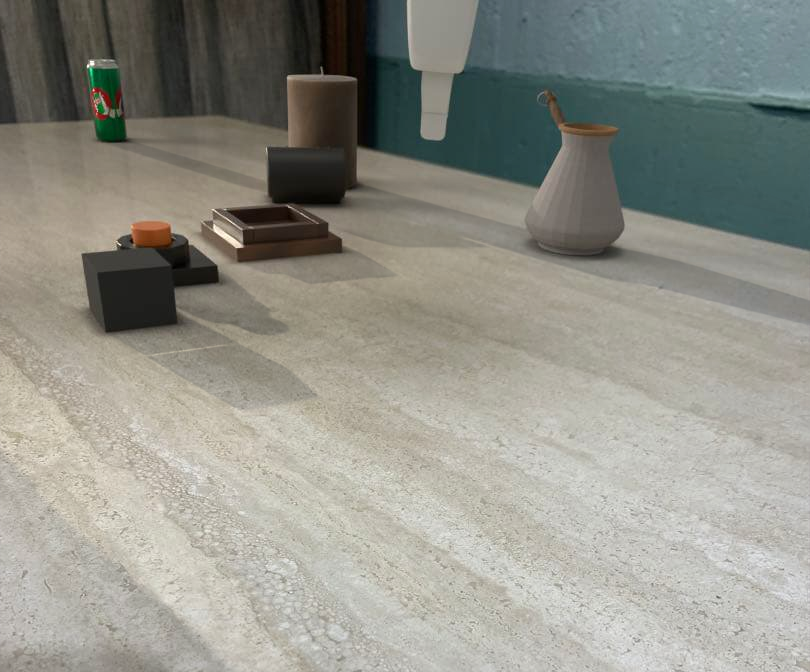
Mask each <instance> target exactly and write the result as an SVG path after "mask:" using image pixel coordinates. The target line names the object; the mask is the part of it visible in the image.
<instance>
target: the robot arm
mask: <svg viewBox="0 0 810 672" xmlns="http://www.w3.org/2000/svg"><path fill="white" fill-rule="evenodd" d="M479 2H480V0H406V15H407V17H406V20H407V41H408V43H407V44H408V54H409V62H410V66H411V68H412V69H413V70H416V71H422V72H421V84H420V91H421V92H420V93H421V95H420V96H421V116H420V117H421V119H420V130H419V131H420V137H421V138H423V139H424V140H427V141H428V140H429V141H438V142H439V141H442V140H443V139H444V138H445V137H446V130H447V120H448V117H449V112H450V102H451V94H452V87H453V81H454V75H455V74H460V73H462V72H463V71H464V69H465V66H466V63H467V59H468V56H469V51H470V46H471V42H472V38H473V32H474V27H475V22H476V17H477V12H478V7H479Z"/></svg>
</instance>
